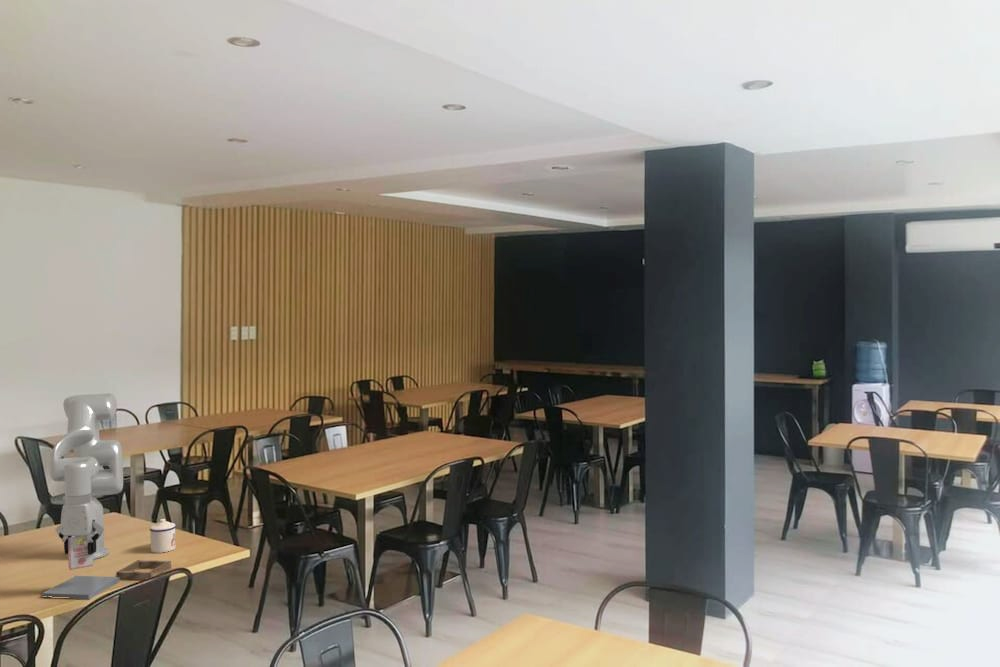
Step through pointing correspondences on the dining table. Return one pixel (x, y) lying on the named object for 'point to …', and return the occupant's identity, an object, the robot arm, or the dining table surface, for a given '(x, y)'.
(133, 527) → the dining table surface
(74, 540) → the white red printed box
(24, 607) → the dining table surface
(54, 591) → the grey tile
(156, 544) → the teacup with lid
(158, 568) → the tray
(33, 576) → the dining table surface
